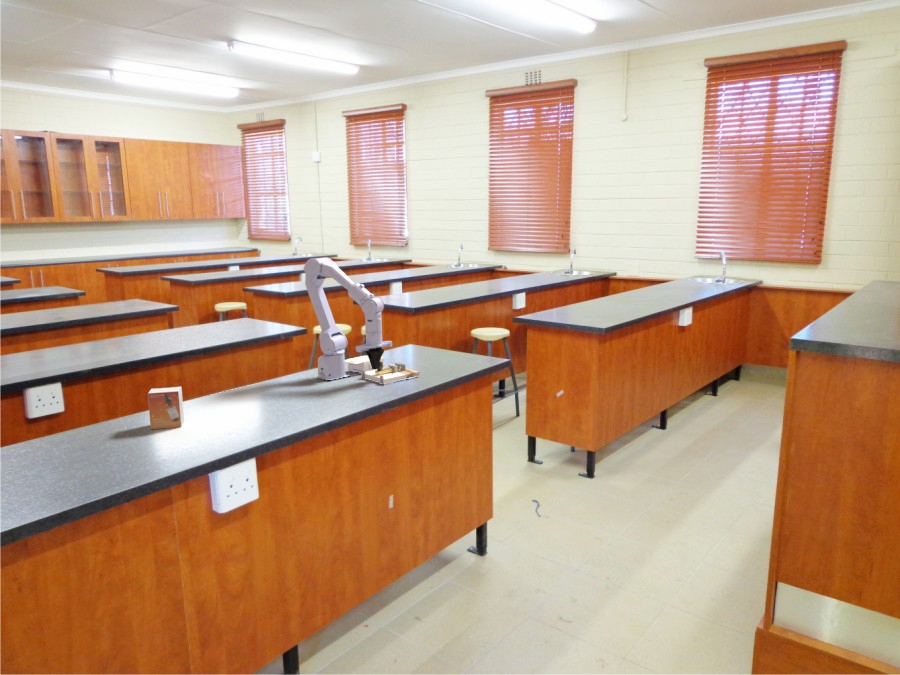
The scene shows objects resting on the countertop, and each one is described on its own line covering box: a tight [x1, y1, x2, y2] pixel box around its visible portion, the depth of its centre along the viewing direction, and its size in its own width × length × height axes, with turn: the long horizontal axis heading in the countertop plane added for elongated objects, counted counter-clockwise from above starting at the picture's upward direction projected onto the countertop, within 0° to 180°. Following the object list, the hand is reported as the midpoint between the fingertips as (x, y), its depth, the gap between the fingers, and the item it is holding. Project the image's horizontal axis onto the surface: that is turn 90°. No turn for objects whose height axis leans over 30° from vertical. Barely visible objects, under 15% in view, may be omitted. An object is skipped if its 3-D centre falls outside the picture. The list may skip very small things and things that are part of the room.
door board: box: [360, 363, 407, 384], centre depth 218 cm, size 11×14×4 cm
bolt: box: [375, 362, 394, 375], centre depth 219 cm, size 8×2×4 cm, turn 133°
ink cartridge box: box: [345, 354, 385, 373], centre depth 231 cm, size 9×5×15 cm
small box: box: [147, 386, 185, 430], centre depth 168 cm, size 8×6×10 cm
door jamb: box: [385, 362, 420, 378], centre depth 224 cm, size 5×14×4 cm, turn 43°
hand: (375, 368), depth 216 cm, fingers closed
